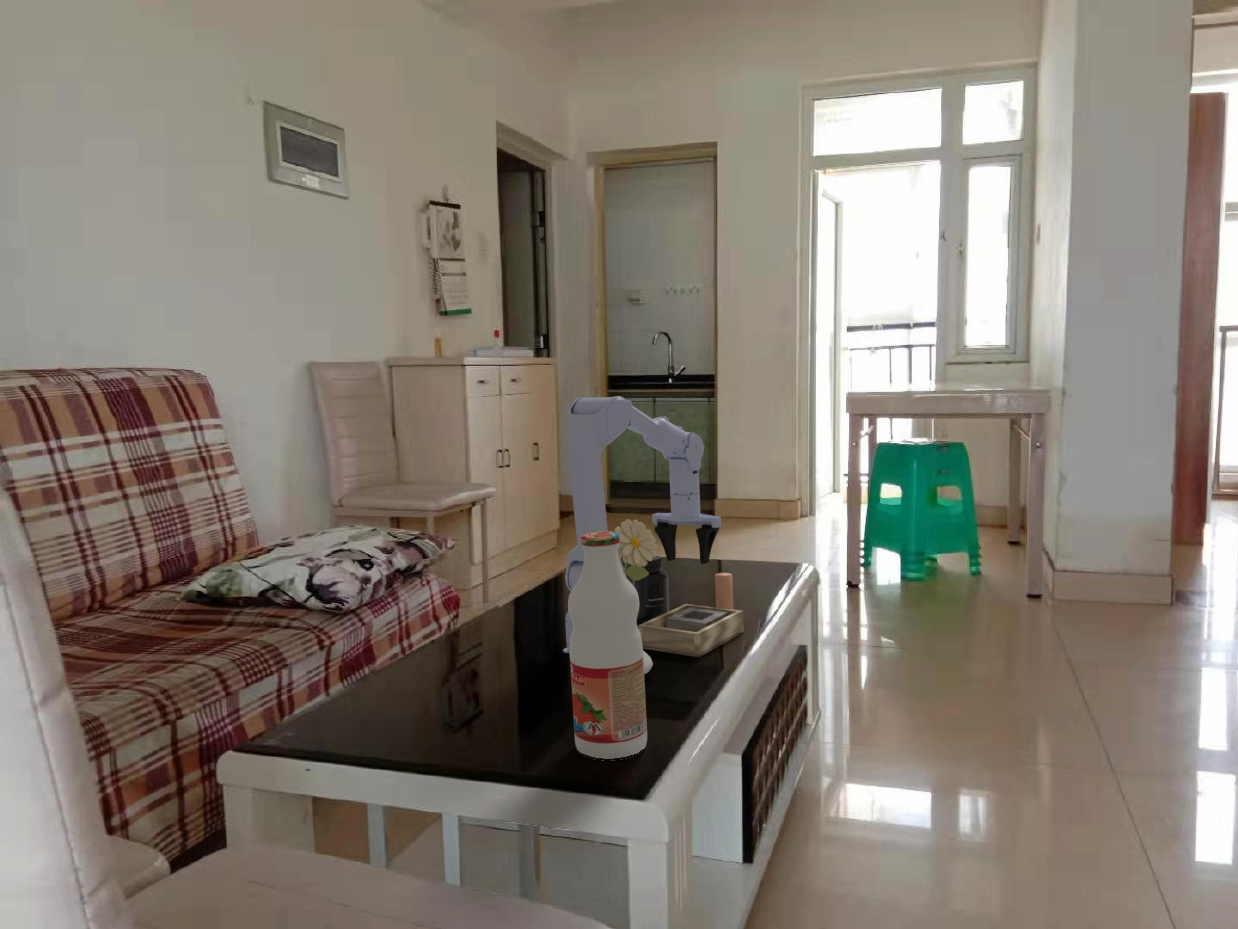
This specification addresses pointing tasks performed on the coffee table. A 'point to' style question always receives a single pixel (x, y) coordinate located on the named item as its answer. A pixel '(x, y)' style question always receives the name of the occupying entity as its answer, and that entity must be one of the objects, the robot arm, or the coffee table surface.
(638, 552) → the flower in vase
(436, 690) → the coffee table surface
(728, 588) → the peg
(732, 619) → the box
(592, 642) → the fruit juice
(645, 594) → the supplement bottle
